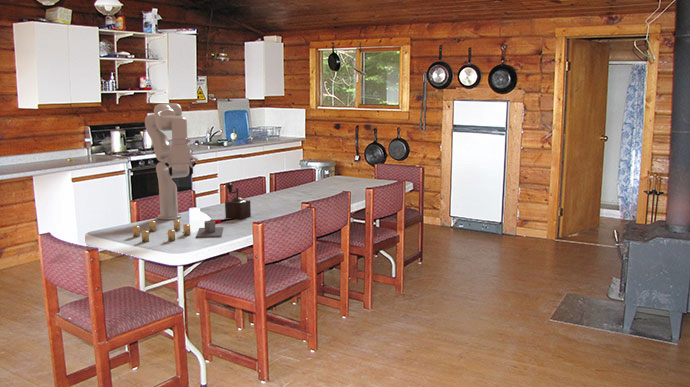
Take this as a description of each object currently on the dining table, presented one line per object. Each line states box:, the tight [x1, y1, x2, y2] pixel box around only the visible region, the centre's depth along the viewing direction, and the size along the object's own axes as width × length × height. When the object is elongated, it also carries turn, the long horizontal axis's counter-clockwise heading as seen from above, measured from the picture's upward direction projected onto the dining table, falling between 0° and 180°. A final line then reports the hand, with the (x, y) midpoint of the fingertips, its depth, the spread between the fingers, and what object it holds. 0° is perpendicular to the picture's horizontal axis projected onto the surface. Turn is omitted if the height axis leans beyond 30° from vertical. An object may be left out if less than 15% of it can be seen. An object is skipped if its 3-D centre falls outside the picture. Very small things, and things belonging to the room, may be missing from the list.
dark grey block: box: [204, 220, 216, 233], centre depth 307 cm, size 6×5×5 cm
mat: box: [195, 226, 224, 239], centre depth 308 cm, size 18×12×1 cm, turn 8°
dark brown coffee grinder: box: [224, 183, 252, 221], centre depth 344 cm, size 16×11×18 cm
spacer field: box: [132, 219, 191, 243], centre depth 302 cm, size 24×27×5 cm
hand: (181, 175), depth 314 cm, fingers open, 9 cm apart
